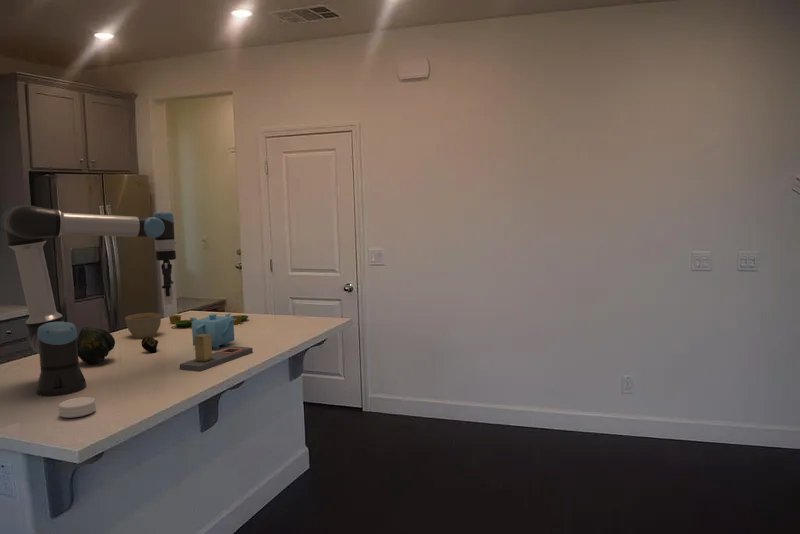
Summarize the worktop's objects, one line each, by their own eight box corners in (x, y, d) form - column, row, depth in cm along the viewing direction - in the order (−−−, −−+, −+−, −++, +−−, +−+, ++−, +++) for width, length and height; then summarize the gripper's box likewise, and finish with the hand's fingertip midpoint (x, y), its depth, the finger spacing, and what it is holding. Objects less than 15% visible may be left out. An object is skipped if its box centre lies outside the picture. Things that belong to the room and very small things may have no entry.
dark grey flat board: (200, 371, 230) (199, 365, 229) (179, 369, 234) (179, 363, 233) (252, 352, 259) (252, 347, 258) (233, 350, 263) (233, 345, 262)
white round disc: (58, 411, 187) (57, 400, 186) (94, 405, 192) (93, 394, 192) (60, 420, 178) (59, 409, 178) (97, 413, 184) (96, 402, 183)
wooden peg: (204, 367, 236) (203, 336, 235) (196, 366, 238) (194, 336, 237) (212, 364, 240) (210, 334, 239) (203, 363, 242) (202, 333, 241)
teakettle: (196, 353, 260) (194, 319, 258) (190, 345, 277) (188, 313, 275) (240, 348, 268) (239, 315, 267) (232, 340, 285) (230, 309, 284)
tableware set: (157, 332, 313) (157, 320, 312) (178, 322, 340) (177, 311, 340) (237, 330, 312) (236, 318, 311) (251, 320, 340) (250, 309, 339)
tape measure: (152, 355, 263) (157, 350, 262) (138, 348, 260) (143, 342, 259) (155, 346, 269) (160, 340, 268) (141, 338, 265) (146, 333, 264)
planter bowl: (123, 337, 298) (121, 315, 297) (157, 333, 308) (155, 311, 307) (131, 342, 285) (129, 320, 284) (166, 337, 295) (165, 315, 294)
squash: (75, 369, 238) (72, 331, 236) (79, 361, 251) (76, 325, 250) (114, 365, 243) (112, 328, 242) (117, 357, 257) (114, 322, 255)
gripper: (175, 251, 236) (178, 305, 238) (175, 248, 259) (178, 297, 261) (154, 252, 233) (157, 307, 235) (157, 249, 257) (160, 298, 259)
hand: (168, 302), depth 248 cm, fingers open, 13 cm apart
